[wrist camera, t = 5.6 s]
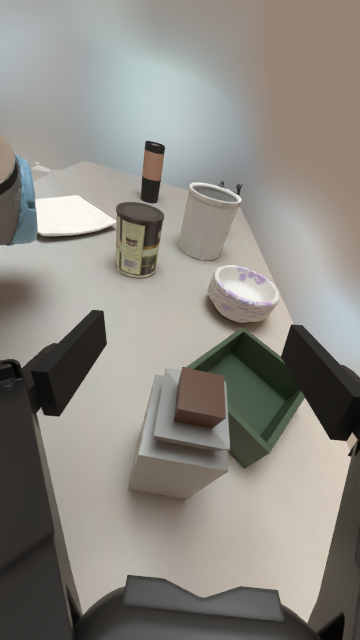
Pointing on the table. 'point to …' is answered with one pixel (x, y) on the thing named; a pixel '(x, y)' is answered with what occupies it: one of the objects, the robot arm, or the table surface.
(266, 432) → the tote
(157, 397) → the perfume bottle
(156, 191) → the travel mug
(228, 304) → the paper bowls
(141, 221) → the coffee can
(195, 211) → the utensil holder
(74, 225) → the plate
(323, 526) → the table surface
